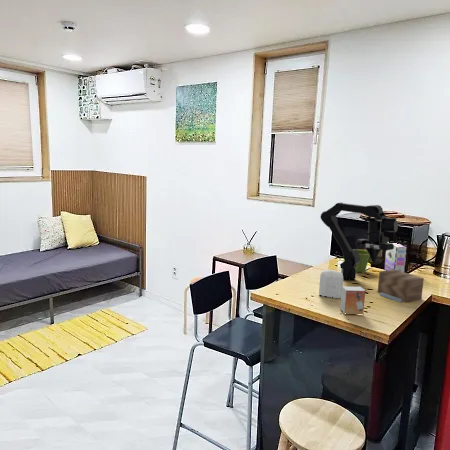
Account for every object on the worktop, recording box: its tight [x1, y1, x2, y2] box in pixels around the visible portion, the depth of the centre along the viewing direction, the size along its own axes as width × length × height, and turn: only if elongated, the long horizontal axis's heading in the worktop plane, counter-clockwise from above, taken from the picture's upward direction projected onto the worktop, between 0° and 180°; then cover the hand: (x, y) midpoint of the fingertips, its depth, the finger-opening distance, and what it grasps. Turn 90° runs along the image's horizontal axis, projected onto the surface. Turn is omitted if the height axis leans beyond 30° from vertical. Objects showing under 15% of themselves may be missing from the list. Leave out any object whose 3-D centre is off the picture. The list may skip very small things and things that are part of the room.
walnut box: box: [377, 269, 424, 303], centre depth 181 cm, size 16×10×10 cm, turn 27°
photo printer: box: [318, 269, 344, 299], centre depth 177 cm, size 10×4×12 cm, turn 72°
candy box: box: [384, 241, 408, 273], centre depth 217 cm, size 14×6×16 cm, turn 179°
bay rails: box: [379, 292, 403, 303], centre depth 181 cm, size 10×16×1 cm, turn 124°
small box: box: [339, 285, 366, 315], centre depth 158 cm, size 8×6×10 cm
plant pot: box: [353, 248, 371, 273], centre depth 220 cm, size 12×12×11 cm
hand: (373, 261), depth 195 cm, fingers closed
